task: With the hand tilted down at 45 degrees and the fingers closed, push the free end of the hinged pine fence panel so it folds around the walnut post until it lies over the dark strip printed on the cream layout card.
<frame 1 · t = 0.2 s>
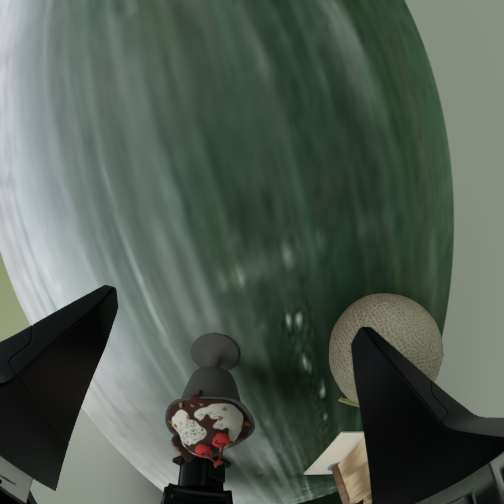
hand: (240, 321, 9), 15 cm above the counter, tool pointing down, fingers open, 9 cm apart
fence post: (335, 466, 34), resting on layout card
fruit: (356, 323, 27), on the counter
fence panel: (361, 470, 28), point 5 cm above the counter, hinge at 0.0°
sundae: (215, 351, 27), on the counter
layout card: (351, 454, 34), on the counter
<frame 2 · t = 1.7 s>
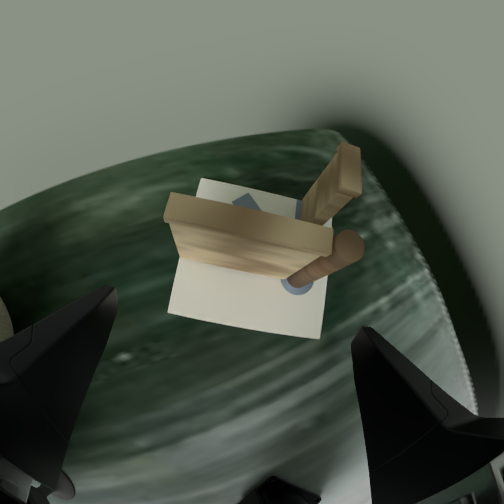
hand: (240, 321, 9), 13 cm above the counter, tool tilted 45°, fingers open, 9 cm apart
fence post: (297, 277, 23), resting on layout card
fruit: (0, 339, 17), on the counter
fence panel: (240, 247, 18), point 5 cm above the counter, hinge at 0.0°
sundae: (54, 480, 14), on the counter
layout card: (258, 256, 23), on the counter
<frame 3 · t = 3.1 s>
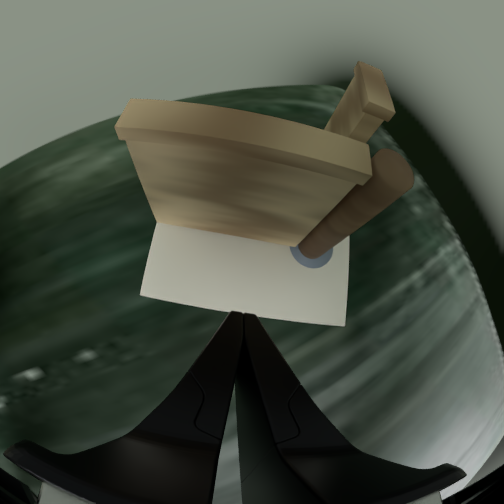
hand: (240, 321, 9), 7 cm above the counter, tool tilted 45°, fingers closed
fence post: (311, 245, 17), resting on layout card
fence panel: (234, 191, 12), point 5 cm above the counter, hinge at 0.0°
layout card: (259, 220, 18), on the counter
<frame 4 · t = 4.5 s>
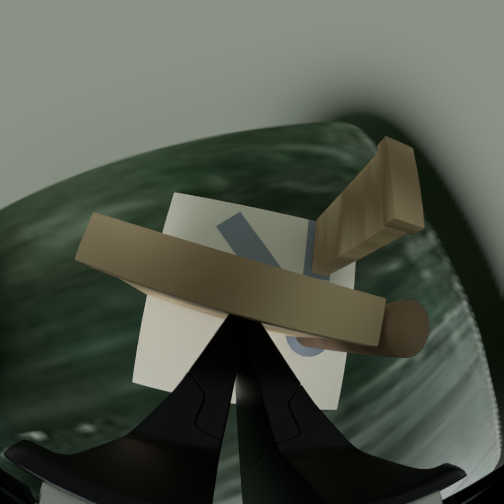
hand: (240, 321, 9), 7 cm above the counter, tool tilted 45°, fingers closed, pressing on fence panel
fence post: (309, 332, 16), resting on layout card
fence panel: (225, 301, 11), point 5 cm above the counter, hinge at 5.7°, touching gripper
layout card: (254, 305, 16), on the counter
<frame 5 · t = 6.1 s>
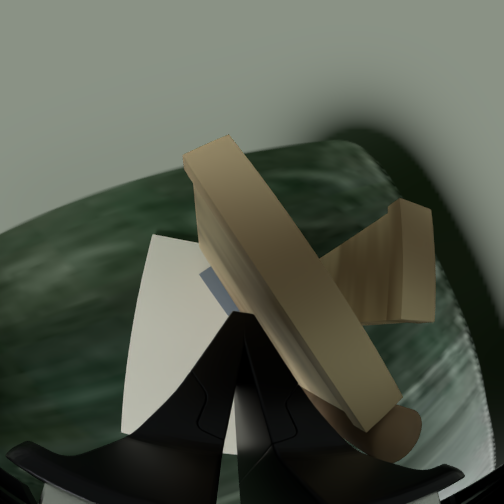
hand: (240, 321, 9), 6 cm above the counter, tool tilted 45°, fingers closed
fence post: (299, 384, 14), resting on layout card
fence panel: (265, 300, 10), point 5 cm above the counter, hinge at 47.7°, touching gripper
layout card: (241, 358, 14), on the counter
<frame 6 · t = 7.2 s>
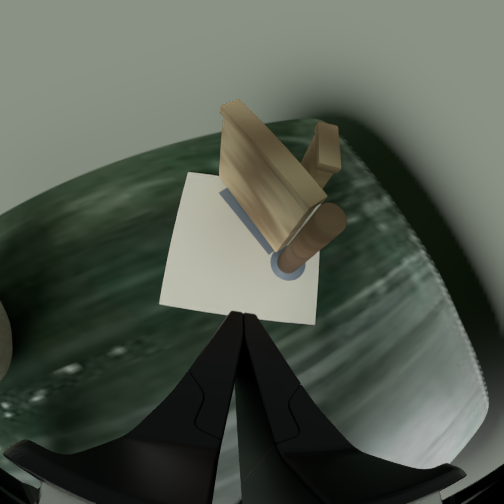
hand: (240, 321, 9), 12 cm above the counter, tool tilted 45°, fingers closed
fence post: (287, 262, 23), resting on layout card
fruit: (0, 341, 17), on the counter
fence panel: (258, 183, 19), point 5 cm above the counter, hinge at 47.7°
layout card: (247, 244, 23), on the counter
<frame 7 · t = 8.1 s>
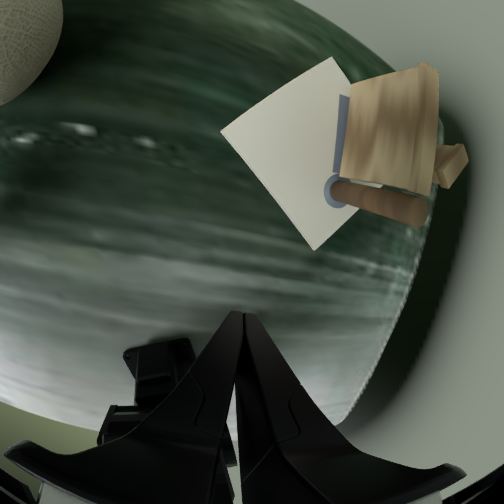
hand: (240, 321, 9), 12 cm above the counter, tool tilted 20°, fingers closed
fence post: (338, 190, 22), resting on layout card
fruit: (24, 64, 12), on the counter
fence panel: (385, 127, 16), point 5 cm above the counter, hinge at 47.7°
layout card: (324, 149, 21), on the counter
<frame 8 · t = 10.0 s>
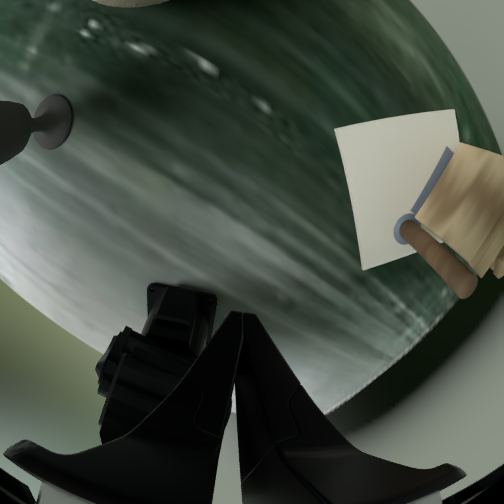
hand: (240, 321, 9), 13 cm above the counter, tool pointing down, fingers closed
fence post: (407, 228, 21), resting on layout card
fence panel: (473, 198, 15), point 5 cm above the counter, hinge at 47.7°
sundae: (52, 121, 17), on the counter
layout card: (413, 187, 20), on the counter
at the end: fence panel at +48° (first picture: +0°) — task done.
